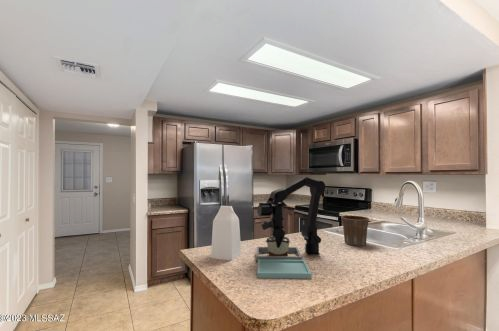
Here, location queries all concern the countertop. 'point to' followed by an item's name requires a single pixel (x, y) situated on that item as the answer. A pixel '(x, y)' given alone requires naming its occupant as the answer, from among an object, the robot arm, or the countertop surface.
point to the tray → (283, 269)
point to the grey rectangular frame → (290, 250)
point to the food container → (273, 246)
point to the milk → (226, 235)
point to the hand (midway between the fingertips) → (277, 245)
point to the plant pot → (355, 230)
